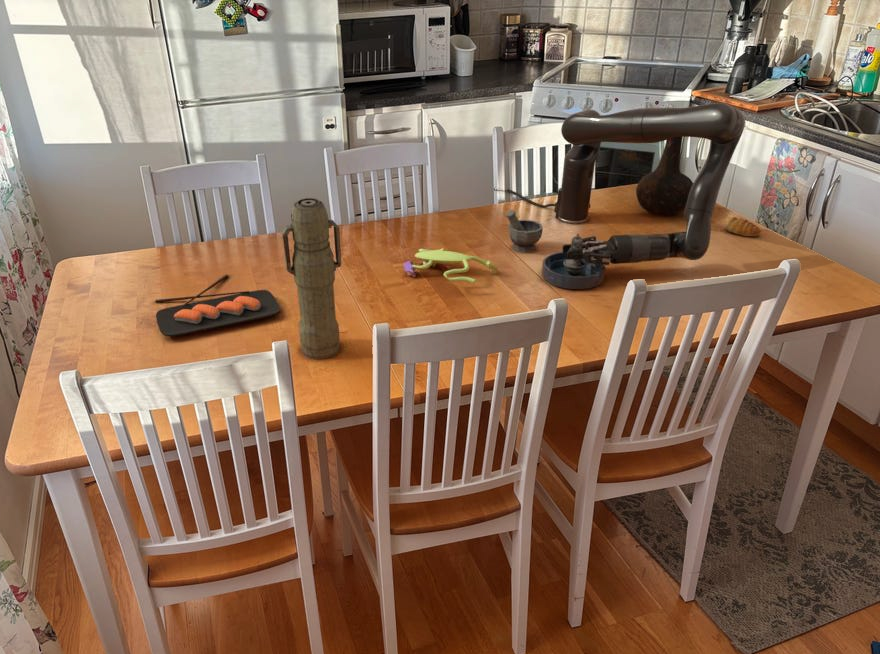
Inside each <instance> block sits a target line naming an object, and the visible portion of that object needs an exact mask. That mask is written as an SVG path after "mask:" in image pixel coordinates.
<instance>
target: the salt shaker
mask: <svg viewBox="0 0 880 654" xmlns="http://www.w3.org/2000/svg"><path fill="white" fill-rule="evenodd" d="M583 239H584V238H582V237H581V236H580V234H579V233H577V234H576V236H573V237H572V238H571V242H570V244H571V248H570V249H569V251H574V250H581V251H583V249H582V243H584V242H583ZM563 264H564V268H565V270H566V272H564V273H563V275H568V276H583V274H582V273H580V272H582V271H583V269H584V267H585V265H586V263H585V262H584V261H582V260H581V259H571V260H568V259H567V260H565V261H564V262H563Z"/></svg>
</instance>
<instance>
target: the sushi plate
mask: <svg viewBox="0 0 880 654" xmlns="http://www.w3.org/2000/svg"><path fill="white" fill-rule="evenodd" d="M228 277H229V274H225V275H223V276H222V277H220V278H219V279H218V280H217V281H215V282H213V283H212V284H211V285H209V286H208V287H207V288H206V289H204V290H203V291H201V292H200V293H198V294H197V295H194V296H193V295H192V296H184V297H183V296H182V297H172V298H160V299H155V303H167V302H174V301H184V300H188V301H187V302H185V303H183V304H179V305H175V306H174V305H173V306H170V307H169V306H168V307H165V308H162V309H159V310H158V311H157V312H156V313H155V319H156V323H157V326H158V329H159V331H160V333H161V334H162V336H164V337H177V336H182V335H188V334H193V333H198V332H203V331H208V330H212V329H217V328H221V327H226V326H227V327H228V326H231V325H236V324H240V323H241V324H242V323H245V322H250V321H255V320H259V319H260V320H261V319H266V318H268V317H273V316H275V315H278V314H280V313H281V306H280V303H279V302H278V301H277V299H276V298H275V296H274V294H272V292H271V291H269V290H267V289H257V290H251V291H250V290H245V291H234V292H225V293H215V294H205V293H206V292H207V291H209V290H211V289H212V288H214V287H215V286H217V285H218V284H220V283H222V282H223V281H224V280H226V279H227V278H228ZM203 294H204V295H203ZM219 296H220V297H219ZM210 297H215V298H210ZM200 298H201V299H202V298H210V299H205V300H199V301H195V302H192V301H194V300H196V299H200Z"/></svg>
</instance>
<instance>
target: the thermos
mask: <svg viewBox="0 0 880 654" xmlns="http://www.w3.org/2000/svg"><path fill="white" fill-rule="evenodd" d="M290 217H291V218H290V224H287V225H285V227H284V229H282V232H281V237H282V245H283V252H284V254H283V255H284V263H285V264H284V265H285V270H286V271H287V273H289V274H290V275H293V281H294V283H295V285H296V289H297V299H298V308H299V322H298V333H299V342H300V344H301V353H302V354H303V356H304V357H306V358H308V359H312V360H324V359H329V358H332V357H335V356H336V355H337V354H338V353H339V351H340V348H341V347H340V339H341V338H340V326H339V322H338V320H337V315H336V303H335V289H334V287H335V286H334V283H335V281H336V272H337V269H338V268H340V267H342V252H341V251H342V247H341V233H340V232H341V231H340V227H339V225H338V224H337V223H336V222H335V220H333V219H329V214H328V211H327V208H326V206H325V204H324V202H323V201H322V200H320V199H318V198H314V197H305V198H301V199H299V200H297V201H295V202H294V203H293V206H292V209H291V214H290ZM332 227H333V237H334V238H333V239H334V253H335V255H334V253H333V251H332V248H331V242H330V240H329V239H330V229H332ZM291 232H292V240H293V242H294V243H293V253H292V258H291V252H290V242H289V234H290V233H291ZM334 256H335V257H334Z"/></svg>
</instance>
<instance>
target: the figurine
mask: <svg viewBox="0 0 880 654" xmlns="http://www.w3.org/2000/svg"><path fill="white" fill-rule="evenodd" d="M414 257H415V258H416V259H418V260H421V261H422V263H423V264H422V265H416V264H414V263H415V262H414V261H413V260H408V261H406V262H403V263H402V265H403V268H404V271H405V273H406V275H407V277H412V278H415V277H417V276H418V272H417V271H416V270H426V269H429V268H430V267H432V268H433V269H434V267H435V266H436V265H437V264H442V265H443V266H445V267H446V268H447V269H448V270H446V271H444V272H443V277H444V278H445V279H446V280H447V281H449V282H455V283H456V282H457V283H458V282H468V283H471V284H473V285H475V284H476V283H477V280H476V279H475V278H472V277H469V276H456V277H449V276H450V275H454V274H463V273H464V274H465V273H467V272H469V270H470V264H469V262H470V261H475V262H477V263H480V264H482V265H483V266H484V267H486V268H487V269H488V270H492V271H493V274H495V275H497V274H498V272H499V271H498V268H497V267H496V266H495V264H493V263H492V261H490V260H484V259H482V258H480V257H478V256H475V255H468V254H465V253H461V252H458V251H457V252H456V251H449V250H444V247H442V248H439V249H425V248H419V249H418V252H416V253H415V254H414ZM448 264H453V265H455V264H463V266H464V267H463V268H453V269H452V267H450V265H448Z"/></svg>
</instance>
